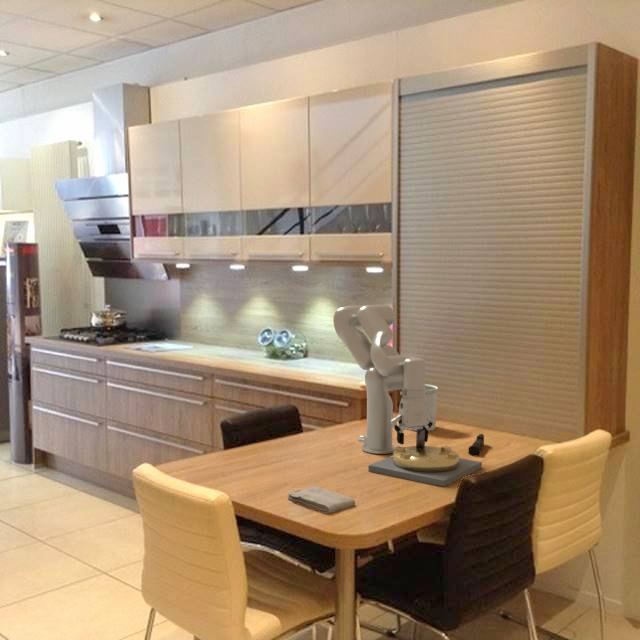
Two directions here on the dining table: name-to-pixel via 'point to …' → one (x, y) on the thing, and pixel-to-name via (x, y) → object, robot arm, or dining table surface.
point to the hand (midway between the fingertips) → (412, 442)
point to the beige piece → (425, 456)
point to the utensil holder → (430, 404)
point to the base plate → (434, 478)
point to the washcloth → (321, 499)
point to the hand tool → (477, 445)
